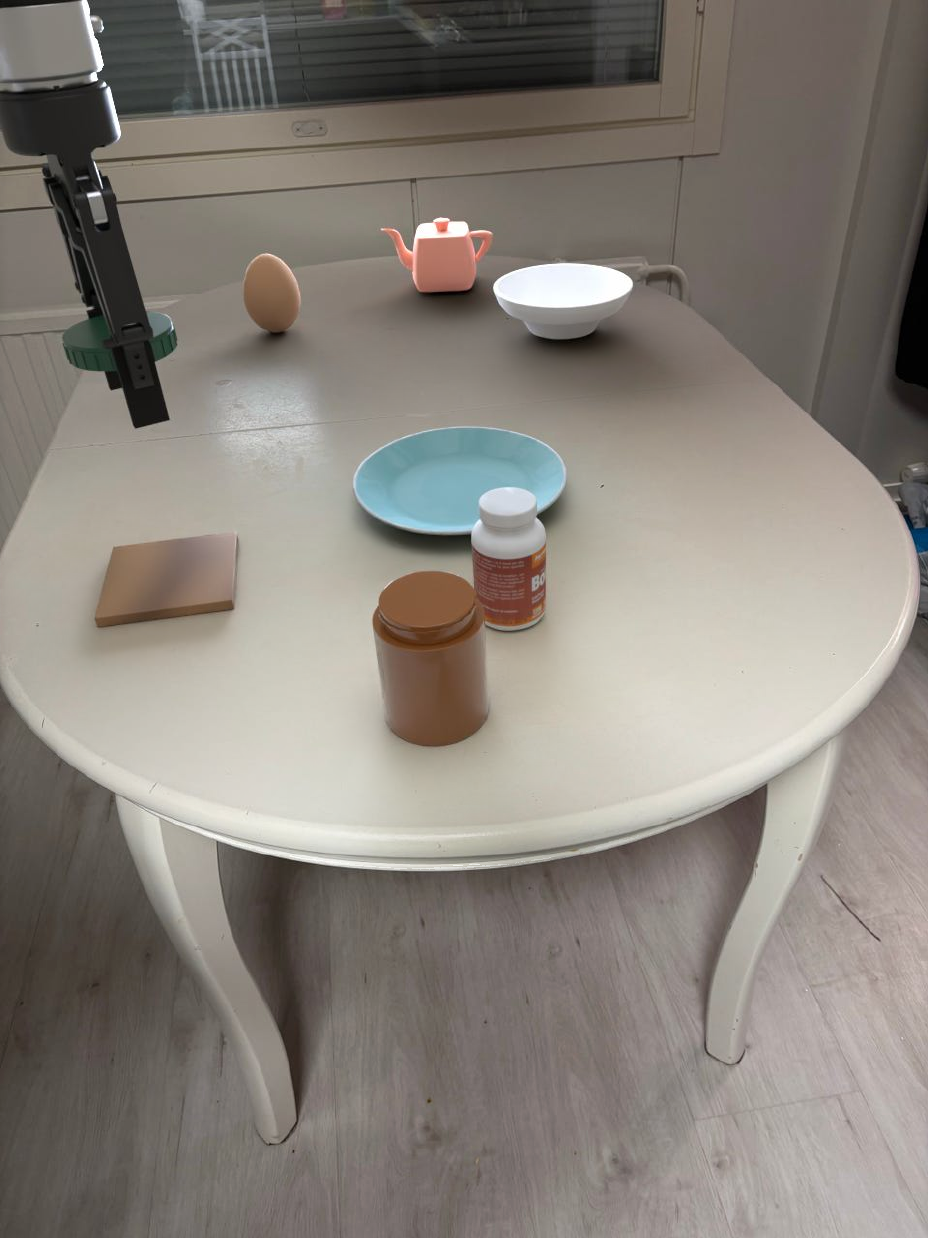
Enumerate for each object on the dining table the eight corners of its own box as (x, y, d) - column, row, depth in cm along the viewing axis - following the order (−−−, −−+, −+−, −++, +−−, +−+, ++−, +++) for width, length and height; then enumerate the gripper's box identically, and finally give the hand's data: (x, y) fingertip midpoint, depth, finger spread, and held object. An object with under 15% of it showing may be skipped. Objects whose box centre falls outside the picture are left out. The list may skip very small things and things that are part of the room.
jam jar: (390, 753, 68) (374, 639, 61) (380, 683, 74) (365, 573, 67) (497, 737, 68) (493, 623, 62) (478, 669, 75) (473, 559, 68)
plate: (539, 567, 86) (539, 541, 84) (320, 539, 92) (316, 515, 90) (585, 458, 103) (586, 435, 101) (398, 440, 108) (395, 418, 107)
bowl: (553, 300, 145) (553, 255, 141) (657, 326, 134) (661, 278, 130) (467, 336, 134) (464, 289, 130) (572, 368, 123) (573, 317, 119)
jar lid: (189, 330, 75) (184, 308, 74) (160, 370, 69) (154, 346, 68) (90, 334, 76) (83, 312, 75) (51, 373, 69) (44, 350, 68)
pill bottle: (546, 633, 78) (546, 520, 71) (473, 633, 78) (466, 520, 72) (545, 591, 83) (546, 481, 76) (476, 591, 83) (471, 482, 77)
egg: (261, 345, 136) (246, 266, 129) (242, 329, 142) (227, 253, 135) (313, 332, 139) (302, 255, 132) (293, 317, 145) (281, 242, 138)
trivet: (97, 627, 82) (93, 618, 81) (115, 555, 91) (113, 546, 91) (234, 609, 83) (232, 600, 82) (238, 539, 92) (236, 531, 92)
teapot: (495, 293, 149) (493, 226, 143) (384, 299, 150) (377, 231, 144) (493, 272, 158) (492, 207, 152) (389, 277, 159) (383, 212, 153)
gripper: (141, 90, 55) (221, 439, 69) (77, 62, 70) (153, 353, 84) (9, 106, 52) (119, 466, 66) (-29, 73, 67) (67, 372, 81)
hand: (138, 402), depth 75 cm, fingers closed on jar lid, 8 cm apart
